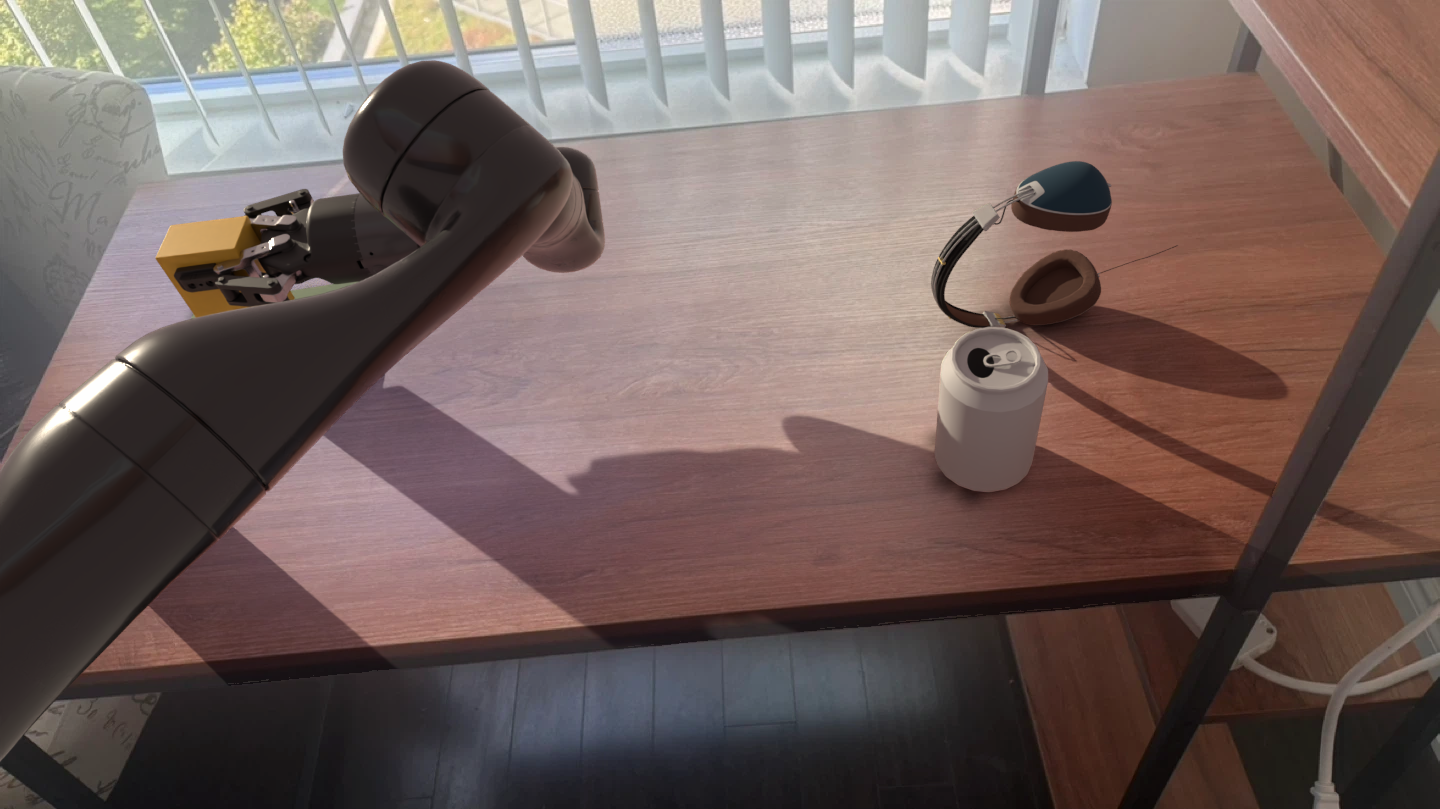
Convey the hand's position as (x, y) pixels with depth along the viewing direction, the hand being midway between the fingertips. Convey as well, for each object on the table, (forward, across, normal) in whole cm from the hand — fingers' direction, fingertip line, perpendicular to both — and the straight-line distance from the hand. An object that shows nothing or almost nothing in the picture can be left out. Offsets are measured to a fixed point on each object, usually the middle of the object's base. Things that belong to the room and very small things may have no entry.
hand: (188, 260), depth 90 cm
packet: (-2, 0, +8) cm, 8 cm away
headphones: (-75, +8, +12) cm, 76 cm away
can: (-65, +23, +12) cm, 70 cm away
